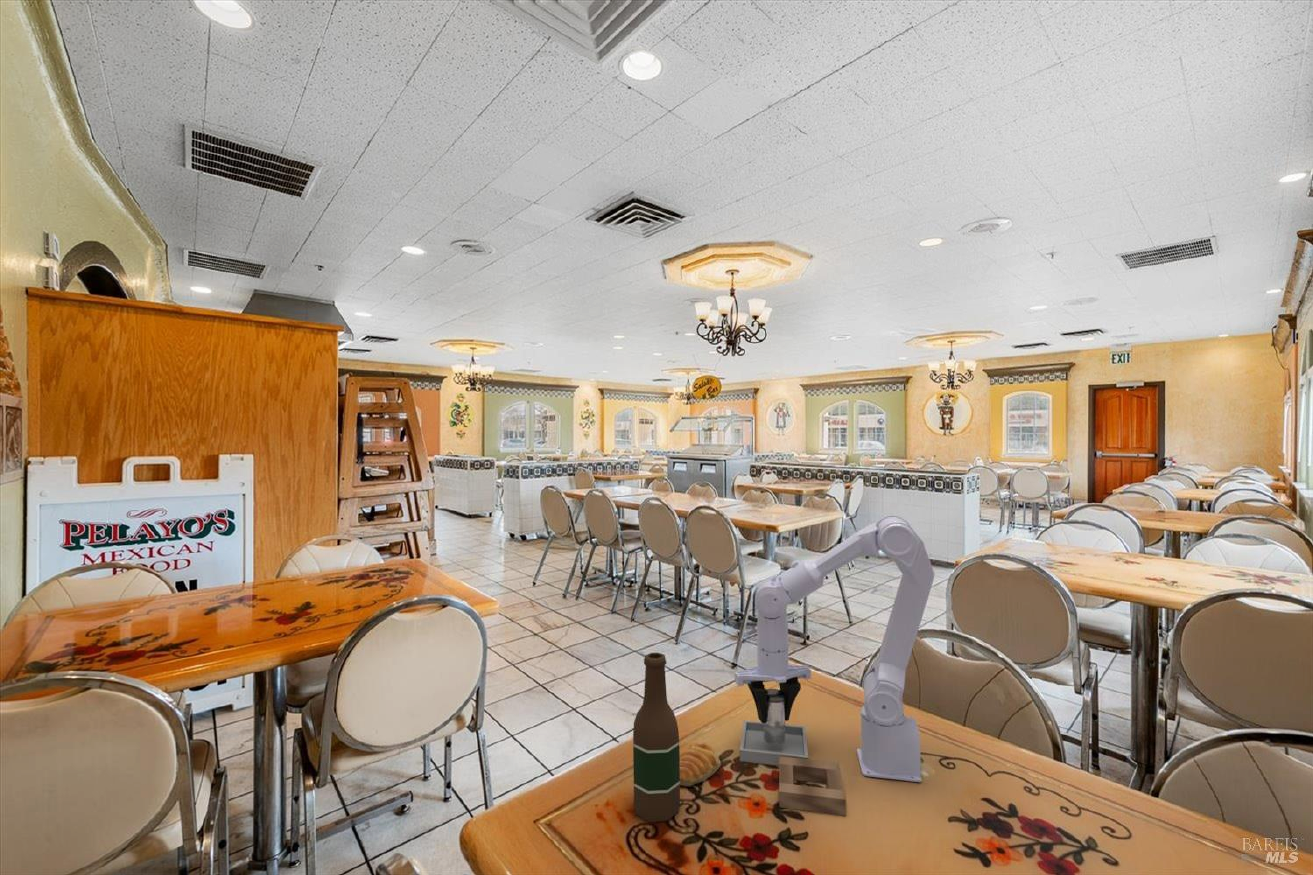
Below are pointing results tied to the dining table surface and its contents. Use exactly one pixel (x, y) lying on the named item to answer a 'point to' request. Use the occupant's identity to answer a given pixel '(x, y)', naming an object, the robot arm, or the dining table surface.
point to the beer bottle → (656, 748)
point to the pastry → (698, 764)
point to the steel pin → (775, 717)
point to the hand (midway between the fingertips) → (773, 719)
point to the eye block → (811, 796)
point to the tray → (766, 753)
